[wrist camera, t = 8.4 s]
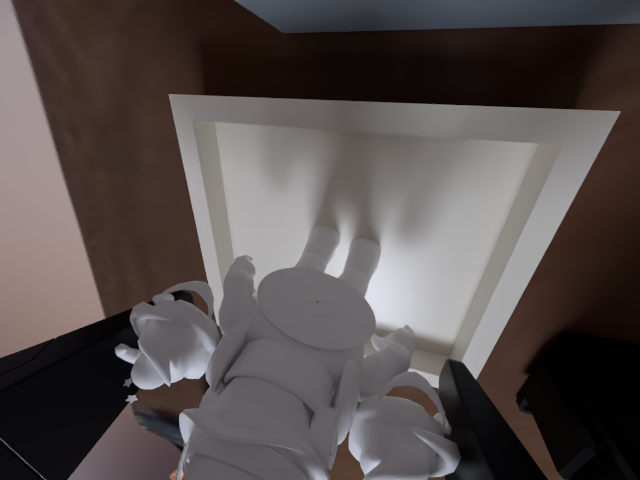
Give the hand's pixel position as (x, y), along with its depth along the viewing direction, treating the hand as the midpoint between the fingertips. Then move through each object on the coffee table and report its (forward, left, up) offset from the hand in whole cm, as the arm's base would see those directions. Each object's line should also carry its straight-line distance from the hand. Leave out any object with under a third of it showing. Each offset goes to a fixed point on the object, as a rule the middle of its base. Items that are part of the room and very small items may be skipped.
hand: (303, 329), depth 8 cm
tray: (0, 0, -7) cm, 7 cm away
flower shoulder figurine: (0, 0, -6) cm, 6 cm away
